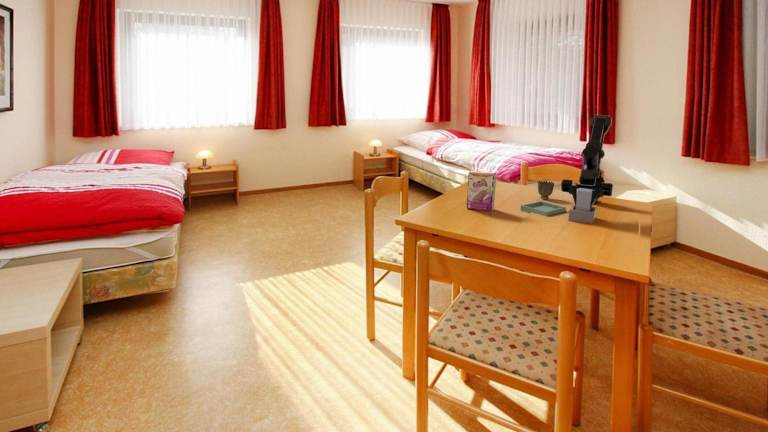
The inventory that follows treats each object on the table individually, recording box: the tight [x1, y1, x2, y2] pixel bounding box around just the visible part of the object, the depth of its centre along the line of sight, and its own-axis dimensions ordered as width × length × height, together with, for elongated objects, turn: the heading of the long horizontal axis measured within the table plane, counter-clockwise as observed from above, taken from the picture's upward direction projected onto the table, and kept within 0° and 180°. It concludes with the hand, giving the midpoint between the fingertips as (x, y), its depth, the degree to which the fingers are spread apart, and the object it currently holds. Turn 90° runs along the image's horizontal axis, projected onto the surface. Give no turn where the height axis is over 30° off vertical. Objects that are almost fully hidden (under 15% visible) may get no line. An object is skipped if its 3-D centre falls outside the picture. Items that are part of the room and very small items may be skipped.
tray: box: [520, 200, 567, 217], centre depth 198 cm, size 13×13×2 cm
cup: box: [537, 180, 555, 200], centre depth 218 cm, size 8×7×8 cm
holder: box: [567, 204, 597, 224], centre depth 184 cm, size 9×9×5 cm
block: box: [575, 188, 593, 211], centre depth 183 cm, size 5×5×12 cm
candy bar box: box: [466, 170, 497, 212], centre depth 200 cm, size 11×5×16 cm, turn 65°
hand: (583, 205), depth 182 cm, fingers open, 5 cm apart
